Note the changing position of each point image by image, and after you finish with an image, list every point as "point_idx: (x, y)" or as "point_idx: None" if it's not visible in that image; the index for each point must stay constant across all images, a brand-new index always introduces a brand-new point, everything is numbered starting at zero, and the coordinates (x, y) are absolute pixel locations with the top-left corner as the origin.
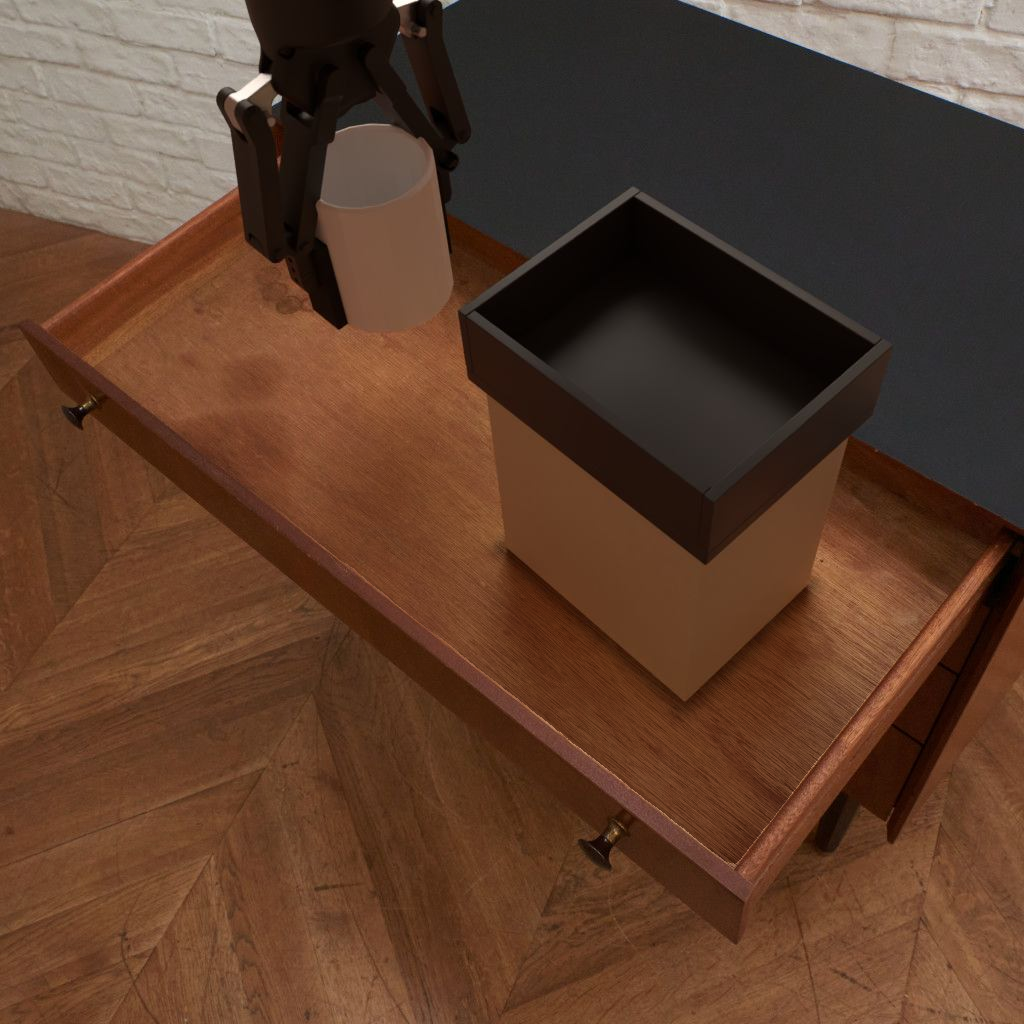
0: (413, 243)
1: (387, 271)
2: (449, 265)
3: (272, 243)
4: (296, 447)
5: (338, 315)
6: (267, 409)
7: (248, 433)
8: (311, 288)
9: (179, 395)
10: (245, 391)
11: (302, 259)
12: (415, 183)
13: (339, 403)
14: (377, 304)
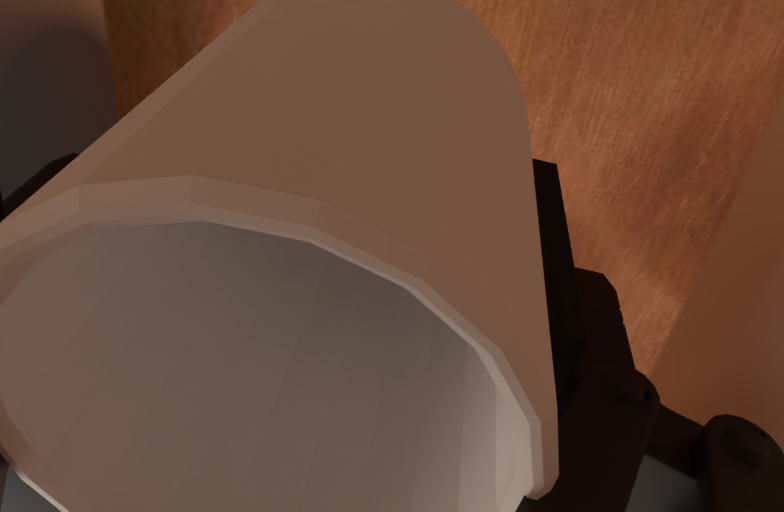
0: (358, 82)
1: (477, 112)
2: (242, 19)
3: (775, 499)
4: (658, 114)
5: (548, 183)
6: (599, 207)
7: (660, 203)
8: (591, 279)
9: (630, 328)
10: (579, 256)
11: (612, 359)
12: (120, 257)
13: (531, 111)
14: (511, 100)
